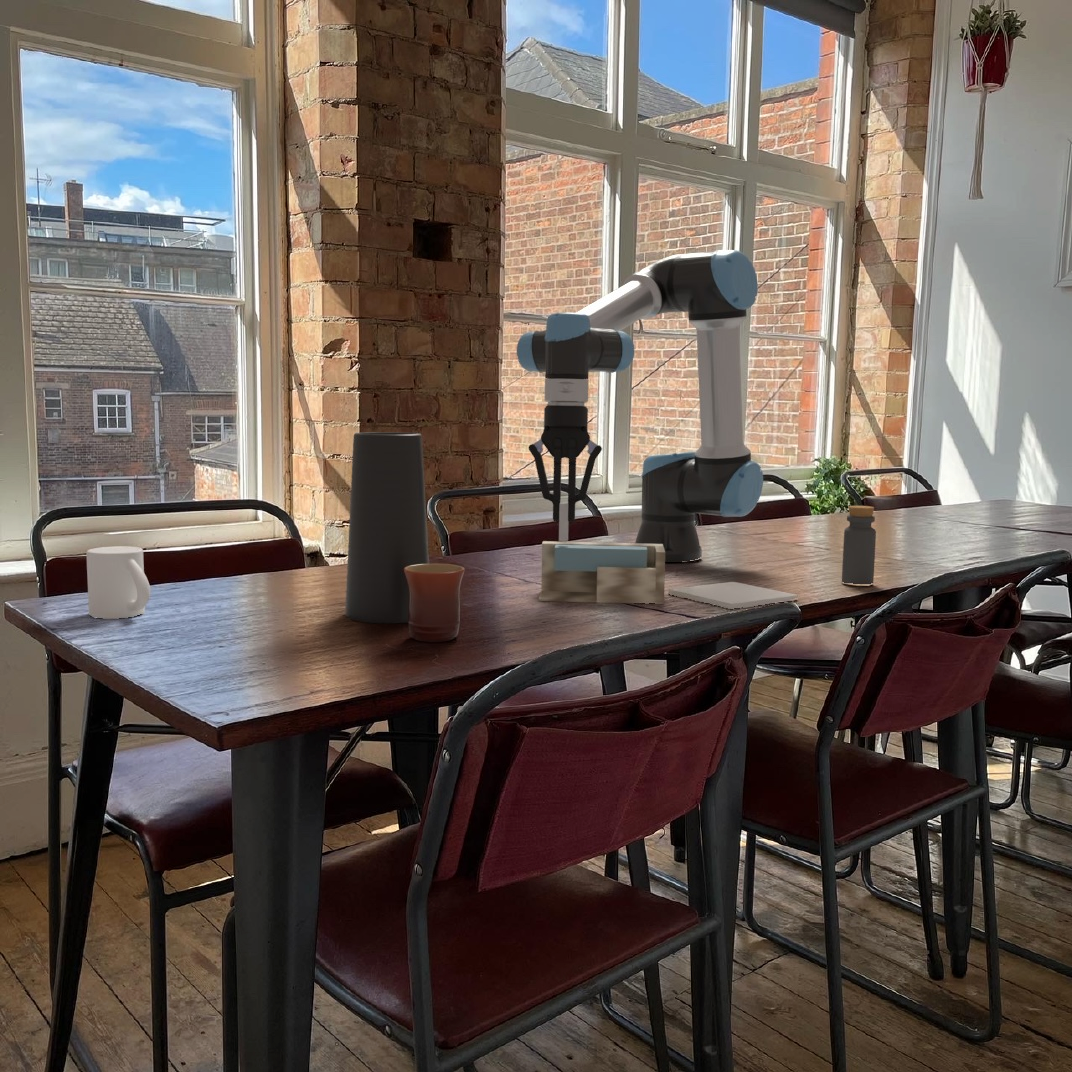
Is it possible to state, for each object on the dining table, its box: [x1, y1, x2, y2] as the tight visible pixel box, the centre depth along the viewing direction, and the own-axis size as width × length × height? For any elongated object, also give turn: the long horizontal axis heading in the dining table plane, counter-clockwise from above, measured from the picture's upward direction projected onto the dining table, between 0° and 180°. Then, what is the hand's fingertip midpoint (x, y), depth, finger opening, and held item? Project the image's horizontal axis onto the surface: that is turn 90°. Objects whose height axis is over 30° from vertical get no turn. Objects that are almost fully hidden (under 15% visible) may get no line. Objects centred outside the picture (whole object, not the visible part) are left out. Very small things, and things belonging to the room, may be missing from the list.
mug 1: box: [86, 545, 151, 620], centre depth 169 cm, size 8×10×12 cm
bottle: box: [841, 505, 877, 584], centre depth 206 cm, size 6×6×15 cm
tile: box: [667, 581, 799, 610], centre depth 192 cm, size 16×16×1 cm
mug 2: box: [404, 563, 466, 643], centre depth 158 cm, size 12×9×10 cm
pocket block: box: [538, 540, 666, 605], centre depth 190 cm, size 22×10×9 cm, turn 86°
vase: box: [345, 431, 430, 624], centre depth 171 cm, size 14×14×29 cm
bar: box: [554, 545, 647, 571], centre depth 189 cm, size 16×4×4 cm, turn 86°
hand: (563, 540), depth 189 cm, fingers closed
